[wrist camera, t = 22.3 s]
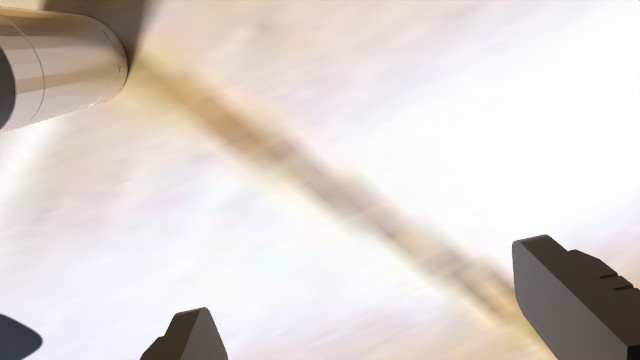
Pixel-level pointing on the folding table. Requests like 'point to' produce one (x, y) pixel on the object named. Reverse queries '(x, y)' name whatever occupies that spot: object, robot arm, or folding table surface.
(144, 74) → the folding table surface
